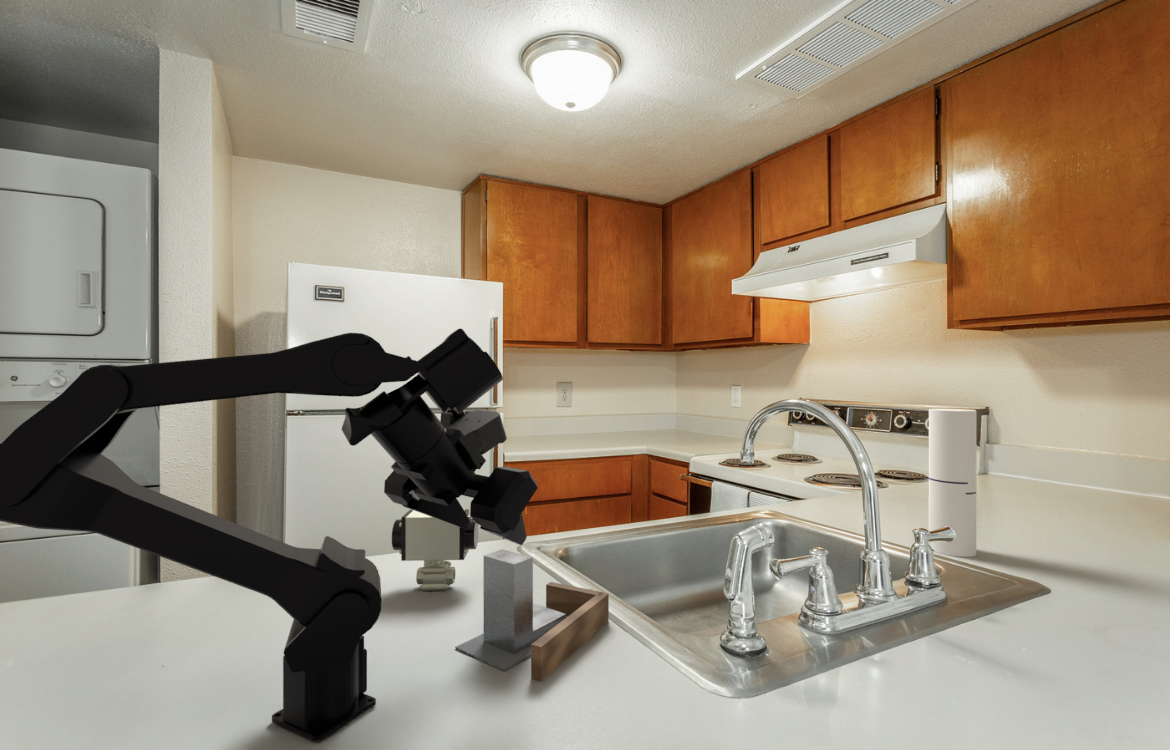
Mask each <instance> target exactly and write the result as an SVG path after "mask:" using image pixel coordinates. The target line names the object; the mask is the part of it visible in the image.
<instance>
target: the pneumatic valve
mask: <svg viewBox="0 0 1170 750" xmlns="http://www.w3.org/2000/svg"><path fill="white" fill-rule="evenodd" d="M463 509H464V511H465V513H466V514H467V516H468V518H469V520H470V523H469V524H468V526H467V527H466V528H465V529H464V528H461V527H458V526H456V525H453V524H450V523H447V522H445V521H442V520H439V519H436V518H434V517H431V516H428V515H425V514H423V513H420V512H417V511H414V510H412V509H409V510H407V512H406V513H405V514H404V515H403V516H401V517H400V519H399V518H398V519H397V518H396V519H395V521H394V522H393V524H392V525H393V526H392V531H391V546H392V550H394V551H399V554H400V555H401V557H400V558H401V562H403V561H404V562H405V561H406V562H408V561H409V562H410V561H423V566H420V567H418V568H417V571H416V578H415V580H416V584H417V585H419V589H420V590H421V591H423V592H424V591H425V592H429V591H433V592H435V591H440V592H441V591H442V592H443V591H446V590H448V588H449V587H448V585H453V584H454V583H455V581H456V567H455V566H452V562H451V561H464V560H465V559H466V557H467V555H468V552H469V551H470V550H477V547H478V544H479V543H478V541H479V524H478V523H476V522H475V521H474V520H473V519H472V517H471V516H470V509H465V508H463Z"/></svg>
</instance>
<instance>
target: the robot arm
mask: <svg viewBox="0 0 1170 750" xmlns="http://www.w3.org/2000/svg"><path fill="white" fill-rule="evenodd" d="M382 346H383V345H381V344H380V342H378V341H377V340H375V339H374V338H373V337H371V336H369V335H367V334H366V333H365V334H364V333H361V332H360V333H358V332H347V333H341V334H338V335H334V336H330V337H327V338H322V339H318V340H314V341H310V342H307V343H304V344H300V345H297V346H294V347H289V348H285V349H282V350H279V351H278V350H277V351H274V352H266V353H255V354H246V355H245V354H244V355H235V356H234V355H232V356H223V357H211V358H210V357H209V358H199V359H188V360H179V361H178V360H177V361H167V362H156V363H155V362H154V363H146V364H143V363H142V364H133V365H121V364H120V365H115V364H100V365H96V366H92V367H89V368H87V369H86V370H84V371H82V372H81V373H80V375H79V376H78V377H77V378H76V379H75V380H74V381H72V383H70V385H69V386H67V388H66V389H65V390H63V392H62V393H61V394H59V395H58V396H57V397H56V398H55V399H53V400H52V401H50V402H48V404H46V405H45V406H44V407H42V408H40V410H38V411H37V412H36V413H35V414H32V416H30V417H29V418H28V419H27V420H25V421H24V422H22V423H21V424H20V425H19V426H17V427H16V428H15V429H14V430H13V431H12V432H11V433H10V434H9V435H8V436H7V437H6V438H5V439H4V440H3V441H2V442H1V443H0V522H2V523H7V524H13V525H18V526H23V527H27V528H33V529H37V530H38V529H39V530H55V531H56V530H57V531H68V532H69V531H70V532H72V531H73V532H74V531H75V532H88V533H94V534H98V535H101V536H104V537H107V538H109V539H110V540H111V539H112V540H115V541H117V542H120V543H123V544H126V545H128V546H131V547H134V548H136V549H139V550H142V551H145V552H147V553H150V554H153V555H155V556H159V557H161V558H164V559H165V560H169V561H172V562H174V563H178V564H180V565H182V566H185V567H188V568H191V569H193V570H197V571H199V572H201V573H204V574H208V575H210V576H212V577H215V578H217V579H220V580H224V581H227V582H229V583H232V584H234V585H237V586H240V587H242V588H245V589H247V590H251V591H254V592H256V593H259V594H261V595H264V596H266V597H268V598H270V599H271V600H273V601H274V602H275V603H276V604H277V606H279V607H281V608H282V610H284V611H285V612H286V614H288V615H289V616H290V617H291V618H292V623H291V627H290V629H289V634H288V636H287V640H286V643H285V647H284V650H283V656H282V709H279V710H278V711H276V712H275V713H273V714H272V715H271V722H272V723H273V724H275V725H278V726H280V727H282V728H285V729H286V730H289V731H291V732H293V733H296V734H298V735H300V736H302V737H303V738H307V739H308V740H310V741H313V742H320V741H322V740H324V739H326V738H327V737H329V736H331V734H333V733H334V732H337V731H338V730H339V729H341V728H342V727H344V726H346V725H347V724H349V723H350V722H352V721H353V720H355V719H356V718H358V717H359V716H361V715H363V714H364V713H365V712H367V711H369V710H370V709H372V708H373V707H375V706H376V704H377V698H375V697H374V696H371V695H368V694H366V692H367V688H368V651H367V649H366V648H365V634H366V633H367V632H369V631H370V630H371V629H373V626H375V624H376V623H377V621H378V620H379V617H380V614H381V611H382V602H383V601H382V586H381V585H382V584H381V583H382V582H381V575H380V573H379V570H378V567H377V566H376V565H375V563H374V562H373V561H371V560H370V559H368V558H367V557H366V550H365V549H363V548H362V549H359V548H358V549H355V548H351V547H348V546H346V545H344V544H343V543H342V542H340V541H338V540H336V539H335V538H333V537H330V536H328V535H326V536H324V539H323V542H322V544H321V548H306V547H305V548H304V547H297V546H293V545H290V544H288V543H285V542H283V541H280V540H279V539H275V538H273V537H270V536H269V535H266V534H262V533H260V532H257V531H255V530H253V529H250V528H248V527H245V526H244V525H243V526H242V525H241V524H238V523H236V522H233V521H230V520H227V519H225V518H222V517H220V516H218V515H216V514H212V513H210V512H208V511H205V510H203V509H200V508H198V507H195V506H193V505H190V504H188V503H185V502H182V501H181V500H178V499H176V498H172V497H171V496H168V495H166V494H163V493H160V492H158V491H155V490H153V489H150V488H148V487H145V486H143V485H141V484H139V483H137V482H136V481H134V480H133V478H131V477H130V476H129V475H127V473H126V472H124V470H123V469H121V468H120V467H119V466H118V465H117V464H116V463H115V462H114V461H113V460H111V459H110V458H108V457H107V456H105V455H103V453H104V452H105V451H106V449H108V447H110V445H111V444H112V443H113V442H114V440H115V439H116V438H117V437H118V435H119V434H120V433H121V431H122V429H124V426H125V425H126V423H127V422H128V421H129V419H130V418H131V416H132V415H134V413H136V411H138V410H139V409H147V408H155V407H162V406H163V407H165V406H172V405H173V406H175V405H183V404H193V403H199V402H200V403H201V402H207V401H208V402H211V401H217V400H226V399H228V400H229V399H233V398H234V399H235V398H245V397H251V396H252V397H255V396H263V395H271V394H272V395H273V394H290V395H291V394H294V395H309V396H310V395H311V396H326V397H327V396H329V397H352V398H354V397H362V396H366V395H369V394H370V393H373V392H375V391H376V390H377V389H379V387H380V386H381V384H382V383H383V384H385V383H397V382H405V384H403V385H401V386H400V387H398V388H396V389H394V390H392V391H390V392H388V393H387V392H386V391H385V390H384V391H382V392H381V393H379V394H377V395H376V396H374V398H372V399H371V400H369V401H368V402H367V403H365V404H364V405H362V406H360V407H356V408H355V407H353V408H352V407H346V408H345V409H344V421H343V423H342V427H341V431H342V433H343V435H344V437H345V438H346V441H347V443H349V445H350V446H356V445H358V444H359V443H361V442H362V441H364V439H366V438H368V437H369V436H370V435H371V436H372V437H373V438H374V439H375V441H376V442H378V444H379V445H380V446H381V447H382V448H383V449H384V450H385V452H386V453H387V454H388V455H389V456H390V458H392V460H393V461H394V463H393V464H392V465H391V466H390V468H391V469H392V470H393V471H392V472H391V473H390V474H389V475H388V476H387V478H385V480H384V490H383V493H384V494H385V495H386V496H387V497H388V499H390V500H391V501H392V503H395V504H398V505H401V506H402V507H404V508H406V509H409V510H414V511H417V512H420V513H423V514H425V515H428V516H431V517H434V518H436V519H439V520H442V521H445V522H447V523H450V524H453V525H456V526H458V527H461V528H464V529H465V528H466V527H467V526H468V524H469V523H470V520H469V518H468V516H467V514H466V513H465V511H464V509H465V508H463V507H462V505H461V503H460V501H459V500H458V498H460V497H461V496H464V497H468V498H472V500H471V501H470V506H469V507H470V509H469V516H471V519H473V520H474V521H475V522H476V523H478V526H480V527H479V529H481V530H483V531H486V532H488V533H489V534H492V535H495V536H498V537H500V538H502V539H503V540H507V541H509V542H511V543H514V544H516V545H519V546H523V544H524V543H525V542H526V540H527V538H528V537H527V536H528V535H527V531H526V526H525V521H524V517H523V511H524V510H525V508H526V507H527V505H528V504H529V502H530V500H531V499H532V497H533V496H534V495H535V493H536V491H537V490H538V488H539V485H538V482H537V481H536V479H535V478H534V477H533V475H532V473H531V472H530V471H529V470H527V469H520V468H514V467H509V466H498V467H495V468H494V469H493V471H491V473H490V475H489V476H487V475H481V474H477V473H475V472H476V471H477V470H481V469H482V467H483V465H485V464H486V462H487V460H486V458H485V457H484V456H483V455H485V454H486V453H488V452H489V451H491V450H492V449H493V448H496V446H498V445H499V444H503V443H505V442H506V441H507V439H508V438H507V433H506V431H505V427H504V425H503V421H502V418H501V414H500V412H498V411H491V410H481V409H478V410H477V409H475V410H473V411H471V410H466V409H468V408H470V406H471V405H472V404H474V403H475V402H476V401H477V400H479V399H480V398H481V397H482V396H484V395H485V394H486V393H488V392H489V391H490V390H492V389H493V388H494V387H495V386H497V385H498V384H499V383H501V382H502V381H503V379H504V377H503V375H502V372H501V369H499V367H498V365H497V364H496V363H495V361H494V360H493V359H492V357H491V356H490V355H489V352H487V351H484V350H483V349H482V348H481V347H480V345H478V344H477V343H476V341H474V339H472V338H471V337H469V336H468V334H467V333H466V332H465V331H464V329H463V328H458V329H456V330H454V331H453V332H452V333H450V334H449V335H447V337H446V338H444V340H443V341H442V342H441V343H440V344H438V346H436V347H435V348H433V349H432V350H431V351H429V352H428V353H426V354H425V355H424V356H422V357H421V358H420V359H418V360H415V359H412V358H411V356H410V355H409V356H408V355H407V356H405V357H404V356H400V355H397V354H393V353H389V352H386V351H385V349H384V348H383V347H382ZM412 377H413V378H412ZM424 394H426V395H427V396H428V397H429V398H430V400H431V401H432V402H433V404H435V406H436V407H437V408H438V409H439V410H440V411H441V412H440V419H439V418H438V417H437V416H436V414H435V413H434V412H433V410H432V409H431V407H430V406H429V405H428V404H427V402H426V401H425V400H424V398H423V397H422V395H424ZM465 410H466V411H465ZM464 411H465V412H464Z"/></svg>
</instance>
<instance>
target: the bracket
mask: <svg viewBox="0 0 1170 750" xmlns="http://www.w3.org/2000/svg"><path fill="white" fill-rule="evenodd" d="M533 572H534V557H532V556H529V555H524V554H521V553H517V552H514V551H510V550H507V549H502V548H501V549H499V550H496V551H493V552H491V553H490V552H489V553H488V554H484V555H483V634H484V642H486V643H488V644H490V645H493V646H495V647H498V648H500V649H502V650H505V651H507V652H510V653H512V654H516V653H518V652H520V651H522V650H523V649H525V648H527V647H529V646H531V644H533V643H534V642H535V641H536V640H538V639H539V638H540V637H542V636H543V635H544V634H546V633H547V632H548V631H550V630H551V629H552V628H554V627H555V626H556V625H557V624H559V623H560V622H561V621H563V620H564V619H565V618H566V617H567V616H566V614H564V613H561V612H558V611H555V610H552V609H549V608H546V606H544V605H540V604H534V593H533V592H534V587H533V586H534V573H533Z"/></svg>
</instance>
